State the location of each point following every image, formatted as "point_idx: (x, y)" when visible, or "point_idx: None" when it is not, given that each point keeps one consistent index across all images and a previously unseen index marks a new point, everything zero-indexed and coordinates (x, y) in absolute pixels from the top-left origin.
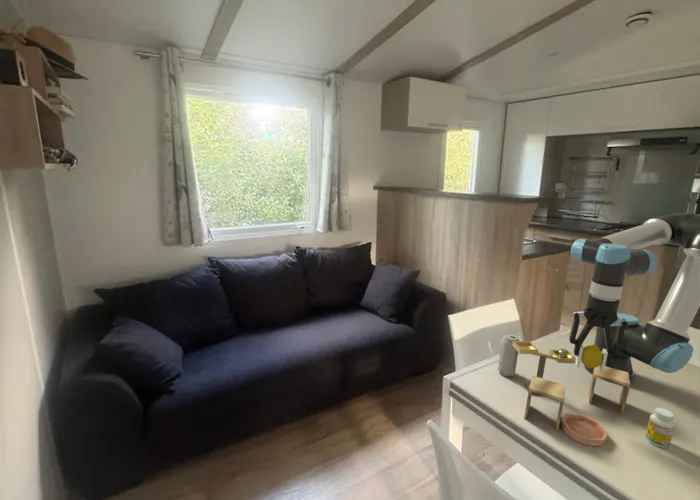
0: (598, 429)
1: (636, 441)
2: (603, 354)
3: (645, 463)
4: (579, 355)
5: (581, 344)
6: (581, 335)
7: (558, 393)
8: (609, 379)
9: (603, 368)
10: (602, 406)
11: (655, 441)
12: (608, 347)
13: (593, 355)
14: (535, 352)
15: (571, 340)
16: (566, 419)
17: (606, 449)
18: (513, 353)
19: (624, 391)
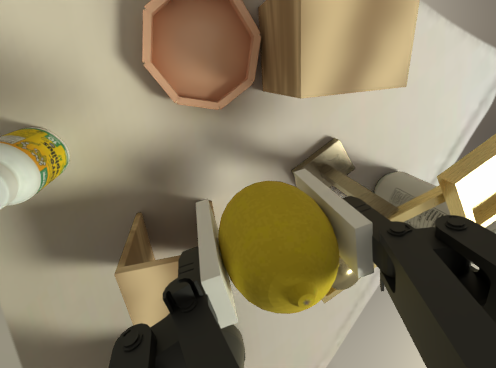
0: (170, 81)
1: (81, 112)
2: (223, 273)
3: (34, 14)
4: (335, 196)
5: (388, 243)
6: (471, 307)
7: (323, 3)
8: (178, 258)
9: (200, 212)
10: (182, 211)
11: (33, 129)
12: (208, 326)
13: (278, 212)
14: (455, 172)
15: (472, 228)
16: (249, 60)
17: (135, 8)
18: (441, 206)
19: (137, 263)
